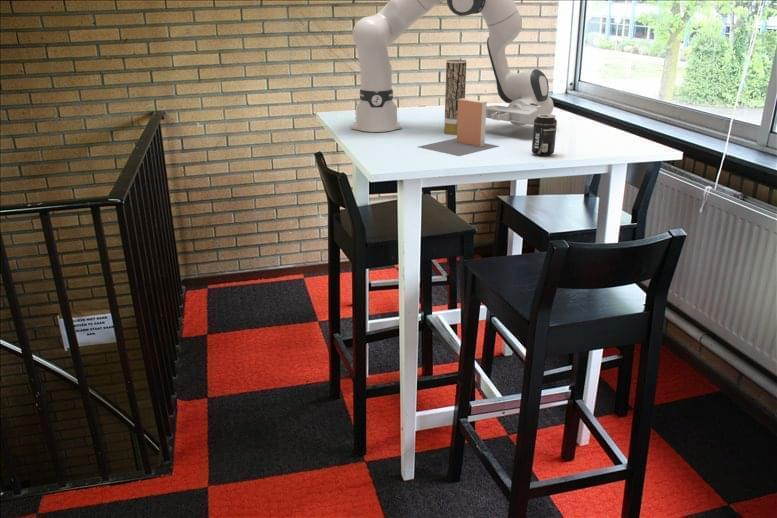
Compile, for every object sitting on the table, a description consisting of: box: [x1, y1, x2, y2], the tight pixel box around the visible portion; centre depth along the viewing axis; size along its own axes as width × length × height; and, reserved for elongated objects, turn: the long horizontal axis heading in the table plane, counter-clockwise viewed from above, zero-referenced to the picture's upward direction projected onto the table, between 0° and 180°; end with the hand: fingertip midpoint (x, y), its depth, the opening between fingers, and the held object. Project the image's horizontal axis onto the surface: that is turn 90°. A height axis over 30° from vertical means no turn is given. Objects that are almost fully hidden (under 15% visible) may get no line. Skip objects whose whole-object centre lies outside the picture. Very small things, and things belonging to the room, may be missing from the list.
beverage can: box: [531, 113, 558, 157], centre depth 201 cm, size 7×7×12 cm
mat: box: [417, 137, 500, 157], centre depth 213 cm, size 20×18×1 cm
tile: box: [456, 98, 488, 147], centre depth 214 cm, size 2×10×14 cm, turn 44°
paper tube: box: [443, 59, 467, 136], centre depth 228 cm, size 7×7×25 cm
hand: (495, 117), depth 221 cm, fingers closed
